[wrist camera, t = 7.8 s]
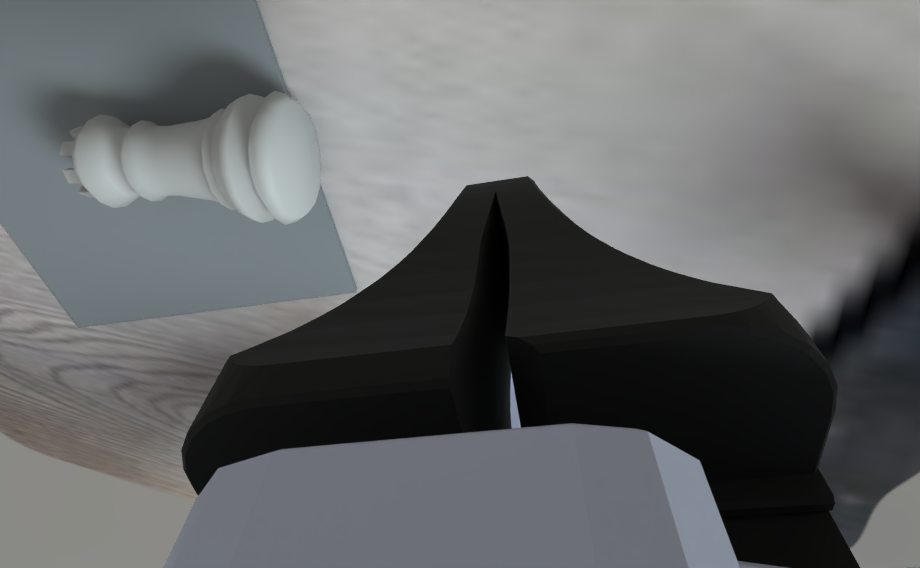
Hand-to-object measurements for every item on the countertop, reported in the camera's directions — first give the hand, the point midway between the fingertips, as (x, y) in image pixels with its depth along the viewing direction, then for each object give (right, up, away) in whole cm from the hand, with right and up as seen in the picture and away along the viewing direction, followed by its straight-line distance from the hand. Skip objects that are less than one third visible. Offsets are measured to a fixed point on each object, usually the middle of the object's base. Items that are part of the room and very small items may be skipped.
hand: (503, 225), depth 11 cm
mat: (-14, +4, +10) cm, 18 cm away
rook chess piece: (-6, +3, +8) cm, 10 cm away
